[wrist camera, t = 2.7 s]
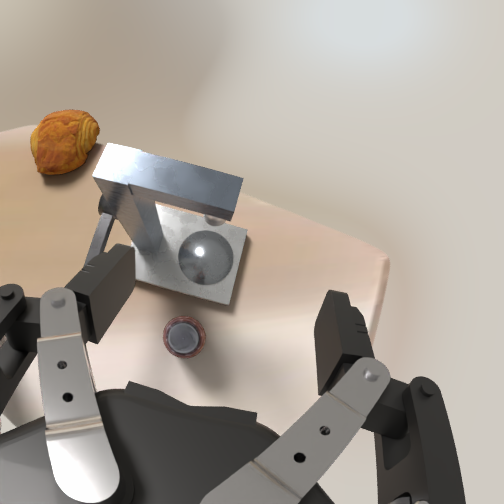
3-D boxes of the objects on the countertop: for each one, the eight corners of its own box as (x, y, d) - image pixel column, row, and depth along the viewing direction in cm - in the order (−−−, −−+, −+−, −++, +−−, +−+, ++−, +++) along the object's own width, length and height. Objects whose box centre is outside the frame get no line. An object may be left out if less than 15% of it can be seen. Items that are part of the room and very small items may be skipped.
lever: (89, 345, 32) (79, 347, 29) (64, 336, 32) (53, 336, 29) (132, 202, 38) (127, 190, 34) (108, 195, 37) (101, 184, 34)
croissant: (50, 126, 54) (35, 105, 46) (108, 119, 55) (96, 94, 47) (30, 182, 50) (10, 164, 43) (89, 179, 51) (72, 157, 43)
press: (227, 305, 51) (268, 282, 24) (124, 276, 49) (59, 223, 22) (245, 233, 55) (296, 147, 28) (147, 206, 52) (118, 102, 26)
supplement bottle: (186, 309, 50) (184, 305, 39) (211, 335, 49) (216, 338, 39) (160, 334, 48) (151, 336, 37) (185, 360, 48) (183, 370, 37)
